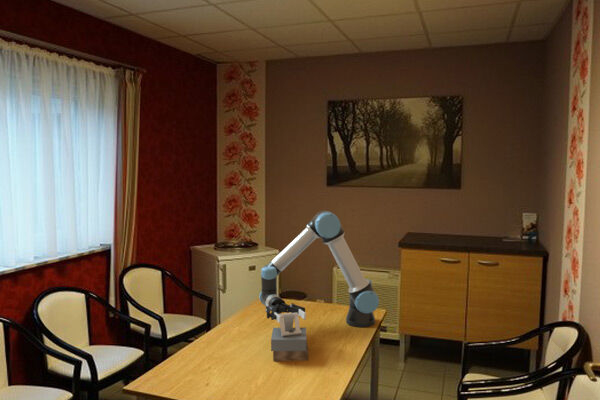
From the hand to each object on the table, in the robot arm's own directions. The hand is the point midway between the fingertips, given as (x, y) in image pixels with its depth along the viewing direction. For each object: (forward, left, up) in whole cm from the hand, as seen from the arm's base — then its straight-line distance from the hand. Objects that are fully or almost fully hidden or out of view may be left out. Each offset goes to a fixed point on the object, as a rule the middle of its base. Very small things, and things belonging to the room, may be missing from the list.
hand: (292, 318), depth 211 cm
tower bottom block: (+1, -4, -18) cm, 18 cm away
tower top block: (+1, -4, -13) cm, 14 cm away
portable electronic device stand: (+1, -4, -8) cm, 9 cm away
